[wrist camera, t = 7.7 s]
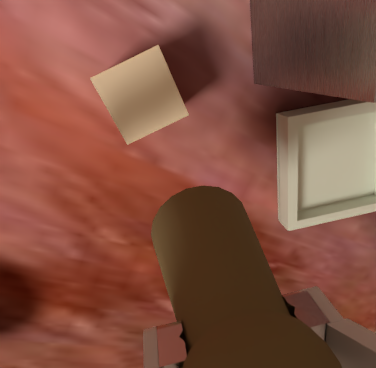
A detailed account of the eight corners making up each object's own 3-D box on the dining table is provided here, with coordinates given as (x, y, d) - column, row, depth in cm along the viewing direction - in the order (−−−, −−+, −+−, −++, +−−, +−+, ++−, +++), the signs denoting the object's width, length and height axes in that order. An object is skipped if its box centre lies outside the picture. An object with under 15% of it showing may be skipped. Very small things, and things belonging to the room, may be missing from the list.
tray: (276, 113, 26) (287, 117, 24) (392, 91, 27) (413, 93, 25) (278, 219, 31) (288, 231, 29) (376, 198, 32) (392, 207, 30)
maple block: (100, 75, 23) (89, 78, 18) (154, 48, 23) (158, 44, 18) (129, 130, 25) (127, 144, 20) (179, 106, 25) (188, 115, 20)
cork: (139, 261, 17) (141, 538, 7) (168, 174, 15) (228, 394, 5) (226, 275, 19) (324, 515, 9) (263, 198, 17) (445, 400, 7)
